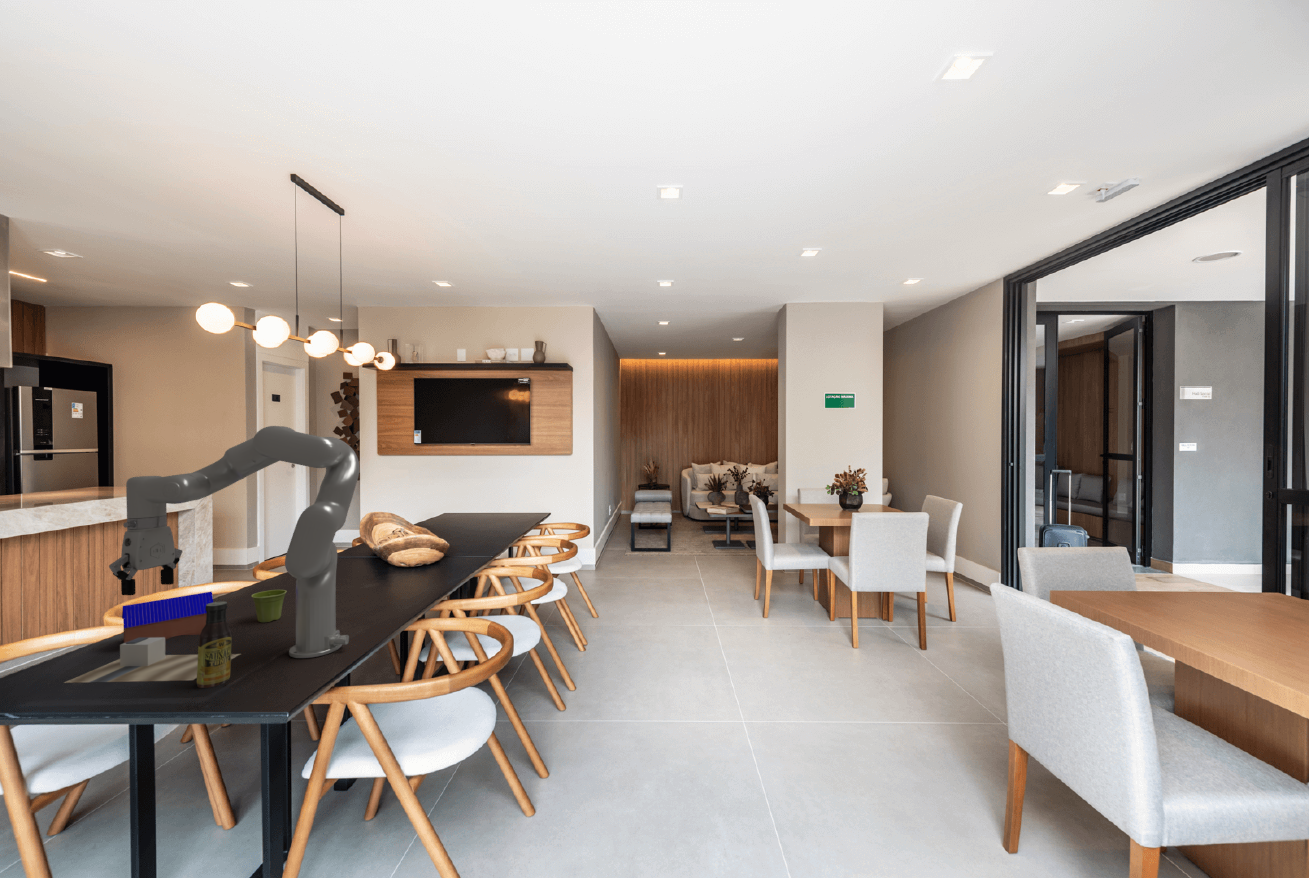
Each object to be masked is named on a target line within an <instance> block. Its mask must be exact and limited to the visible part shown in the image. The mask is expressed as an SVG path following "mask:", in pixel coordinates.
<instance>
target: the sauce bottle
mask: <svg viewBox="0 0 1309 878" xmlns="http://www.w3.org/2000/svg"><path fill="white" fill-rule="evenodd" d="M227 609H228V602H227V601H213V603H209V604H207V605H206V609H205V610H206V612H207V614H206V625H205V626H204V628H203V629H202V631H201V633H200V635H199V637H198V646H197V647H198V648H197V655H198V665H197V678H196V685H197V688H199V689H205V688H206V689H207V688H213V687H217V686H221V685H223V684H225V683H226V682H227V683H228V681H229V680H230V678H231V664H232V663H231V662H232V659H231V654H232V630H231V625H229V623H228V621H227ZM226 686H227V684H225V685H223V686H222V687H223V688H224V687H226Z"/></svg>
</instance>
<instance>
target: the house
mask: <svg viewBox="0 0 1309 878" xmlns="http://www.w3.org/2000/svg"><path fill="white" fill-rule="evenodd" d="M213 598H214V597H213V591H206V592H200V593H194V594H193V593H192V594H188V595H182V596H175V597H170V598H165V599H164V598H163V599H159V600H156V599H155V600H151V601H145V602H138V603H133V604H126V605H122V610H121V612H122V613H121V619H123V621H122V622H123V644H124V643H126V642H129V641H131V640H134V639H136V638H139V637H148V638H156V637H165V641H166V640H169V639H171V638H173V637H177V636H179V637H180V636H191V635H192V636H195V635H196V636H197V635H199V636H200V633H201V631H202V629H203V628H204V626H205V625H206V614H207V612H206V610H205V609H206V605H207V604H209V603H213V602H214V599H213Z"/></svg>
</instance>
